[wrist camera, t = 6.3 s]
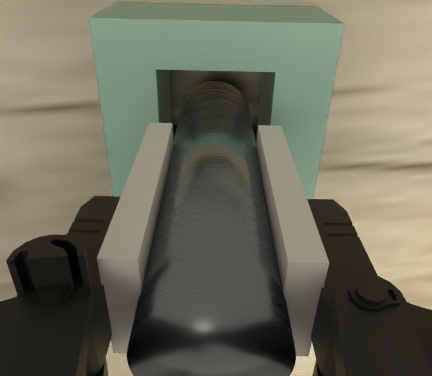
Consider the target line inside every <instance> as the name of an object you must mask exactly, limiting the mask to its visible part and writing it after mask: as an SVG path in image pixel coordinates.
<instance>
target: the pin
mask: <svg viewBox="0 0 432 376" xmlns="http://www.w3.org/2000/svg"><path fill="white" fill-rule="evenodd" d="M295 360H296V351H295V345H294V339H293V334H292V329H291V324H290V319H289V314H288V308H287V303H286V299H285V296H284V293H283V288H282V283H281V278H280V272H279V267H278V262H277V256H276V251H275V246H274V240H273V235H272V230H271V224H270V219H269V214H268V209H267V203H266V198H265V193H264V187H263V182H262V177H261V171H260V166H259V161H258V155H257V150H256V142H255V137H254V132H253V127H252V121H251V116H250V111H249V106H248V103H247V101H246V99H245V97H244V95H243V94H242V93H241V92H240V91H239V90H238V89H237V88H235V87H234V86H232V85H230V84H228V83H225V82H220V81H210V82H205V83H202V84H200V85H198V86H196V87H195V88H193V89H192V90H191V91H190V92H189V93H188V94H187V96H186V97H185V99H184V101H183V103H182V106H181V111H180V115H179V120H178V124H177V129H176V133H175V138H174V142H173V150H172V155H171V159H170V164H169V168H168V173H167V177H166V182H165V186H164V191H163V195H162V200H161V204H160V209H159V214H158V218H157V223H156V227H155V232H154V236H153V241H152V245H151V250H150V254H149V259H148V263H147V268H146V272H145V277H144V281H143V286H142V290H141V293H140V296H139V299H138V303H137V308H136V312H135V317H134V321H133V325H132V330H131V334H130V339H129V343H128V349H127V361H128V365H129V368H130V370H131V372H132V374H133V375H134V376H290V374H291V372H292V371H293V368H294V365H295Z"/></svg>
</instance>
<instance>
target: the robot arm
mask: <svg viewBox="0 0 432 376" xmlns="http://www.w3.org/2000/svg"><path fill="white" fill-rule="evenodd" d="M172 150H173V123H149V125H148V127H147V130H146V133H145V135H144V138H143V140H142V143H141V145H140V148H139V151H138V153H137V156H136V158H135V161H134V164H133V166H132V169H131V171H130V174H129V176H128V179H127V182H126V184H125V187H124V189H123V192H122V194H121V197H116V196H94V197H93V198H92V199H90V200H89V201H88V202H87V203H85V204H84V205H83V206H81V208H80V210H79V212H78V214H77V216H76V218H75V222H73V223H72V225H71V227H70V229H69V233H67V235H48V236H43V237H38V238H36V239H33V240H31V241H28V242H26V243H24V244H23V245H21V246H20V247H18V248H17V249H15V250H14V251H13V252H12V254H11V255H10V256H9V258H8V259H7V260H6V261H7V264H8V267H9V270H10V273H11V276H12V279H13V282H14V285H15V288H16V291H17V294H18V295H17V297H14V298H11V299H8V300H5V301H1V302H0V376H108V370H107V363H106V354H107V351H108V347H109V343H110V340H111V342H112V347H113V353H127V349H128V343H129V339H130V334H131V330H132V325H133V321H134V317H135V312H136V308H137V303H138V299H139V296H140V293H141V290H142V286H143V281H144V277H145V272H146V268H147V263H148V259H149V254H150V250H151V245H152V241H153V236H154V232H155V227H156V223H157V218H158V214H159V209H160V204H161V200H162V195H163V191H164V186H165V182H166V177H167V173H168V168H169V164H170V159H171V155H172ZM256 150H257V155H258V161H259V166H260V171H261V177H262V182H263V187H264V193H265V198H266V203H267V209H268V214H269V219H270V224H271V230H272V235H273V240H274V246H275V251H276V256H277V262H278V267H279V272H280V278H281V283H282V288H283V293H284V296H285V299H286V303H287V308H288V314H289V319H290V324H291V329H292V334H293V339H294V345H295V351H296V356H308V355H309V351H310V346H311V342H312V343H313V347H314V351H315V356H316V363H315V367H314V372H313V376H432V310H430V309H426V308H422V307H419V306H416V305H413V304H410V303H408V302H406V300H405V298H404V297H403V295H402V293H401V292H400V290H398V289H397V288H396V287H395V286H394V285H393V284H392V283H390V282H389V281H387V280H385V279H383V278H381V277H379V276H377V273H376V271H375V269H374V267H373V265H372V263H371V261H370V259H369V257H368V255H367V253H366V251H365V249H364V246H363V244H362V242H361V240H360V238H359V237H358V236H357V235H358V234H357V232H356V230H355V228H354V226H352V222H351V220H350V217H349V215H348V213H347V211H346V210H345V209H344V208H342V207H341V206H340V205H339V204H338V203H337V202H335V201H334V200H327V199H307V198H306V195H305V192H304V189H303V186H302V183H301V181H300V178H299V175H298V172H297V169H296V166H295V163H294V161H293V158H292V155H291V152H290V149H289V146H288V143H287V141H286V138H285V135H284V132H283V129H282V126H276V125H258V132H257V144H256Z"/></svg>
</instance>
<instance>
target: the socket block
mask: <svg viewBox="0 0 432 376" xmlns="http://www.w3.org/2000/svg"><path fill="white" fill-rule="evenodd" d="M89 22H90V29H91V37H92V44H93V52H94V59H95V67H96V74H97V81H98V89H99V96H100V104H101V111H102V119H103V126H104V133H105V141H106V148H107V156H108V163H109V171H110V178H111V185H112V193H113V196H116V197H121V194H122V192H123V189H124V187H125V184H126V182H127V179H128V176H129V174H130V171H131V169H132V166H133V164H134V161H135V158H136V156H137V153H138V151H139V148H140V145H141V143H142V140H143V138H144V135H145V133H146V130H147V127H148V125H149V123H172V122H171V96H170V71H169V70H201V71H246V72H262V74H261V87H260V99H259V111H258V124H257V132H258V125H276V126H282V129H283V132H284V135H285V138H286V141H287V143H288V146H289V149H290V152H291V155H292V158H293V161H294V163H295V166H296V169H297V172H298V175H299V178H300V181H301V183H302V186H303V189H304V192H305V195H306V198H307V199H313V197H314V191H315V185H316V180H317V174H318V168H319V163H320V157H321V152H322V146H323V140H324V135H325V129H326V123H327V118H328V112H329V106H330V101H331V95H332V89H333V84H334V78H335V72H336V67H337V61H338V55H339V50H340V44H341V39H342V33H343V27H344V23H342V22H340V21H339V20H337V19H335V18H334V17H332V16H331V15H329V14H327V13H326V12H324V11H323V10H321V9H319V8H318V7H295V6H253V5H211V4H169V3H127V2H116V3H114V4H113V5H111V6H109V7H107V8H106V9H104V10H102V11H100V12H98V13H97V14H95V15H93V16H91V17H90V18H89ZM254 137H255V142H256V144H257V134H254ZM174 138H175V133H174V132H173V142H174Z"/></svg>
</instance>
